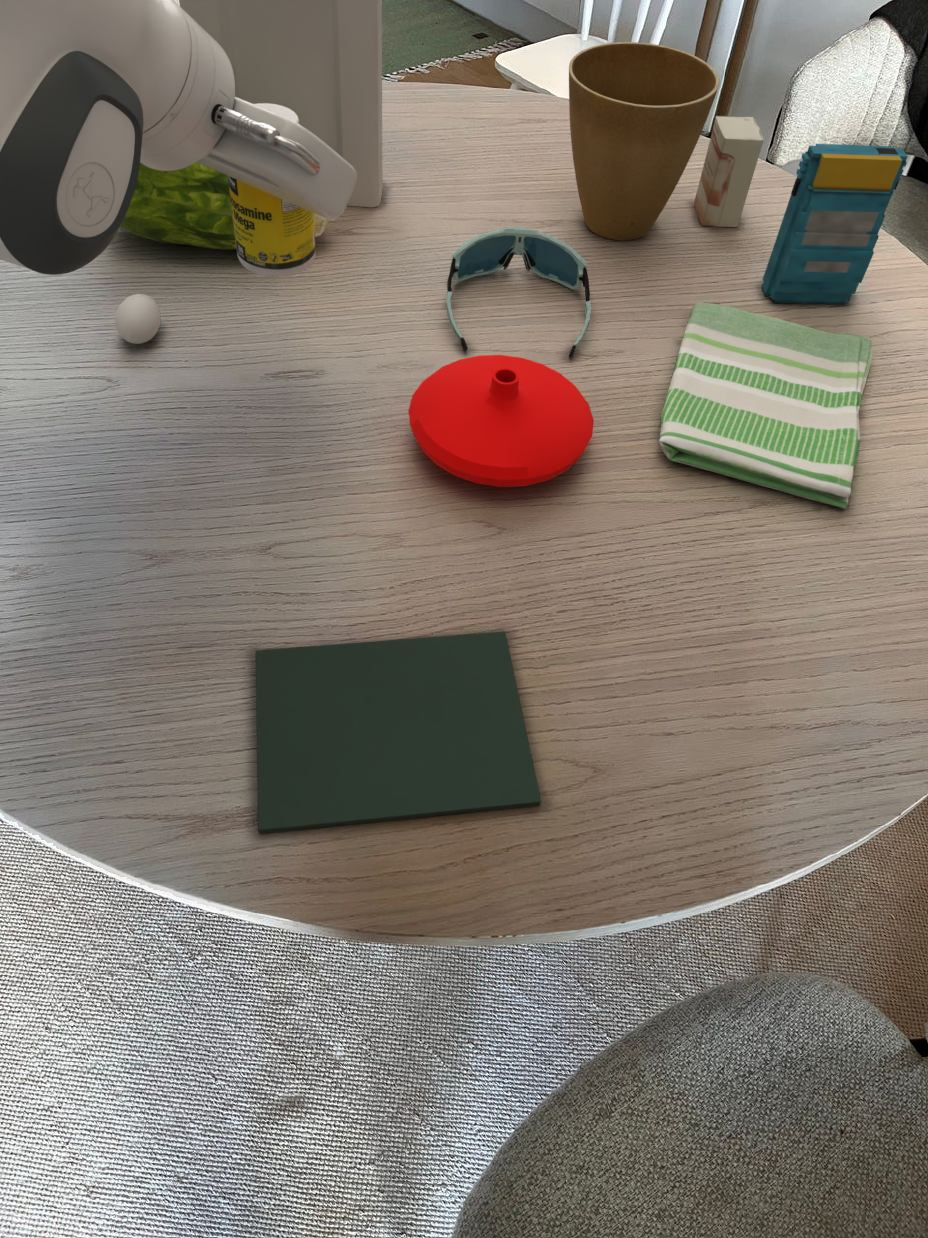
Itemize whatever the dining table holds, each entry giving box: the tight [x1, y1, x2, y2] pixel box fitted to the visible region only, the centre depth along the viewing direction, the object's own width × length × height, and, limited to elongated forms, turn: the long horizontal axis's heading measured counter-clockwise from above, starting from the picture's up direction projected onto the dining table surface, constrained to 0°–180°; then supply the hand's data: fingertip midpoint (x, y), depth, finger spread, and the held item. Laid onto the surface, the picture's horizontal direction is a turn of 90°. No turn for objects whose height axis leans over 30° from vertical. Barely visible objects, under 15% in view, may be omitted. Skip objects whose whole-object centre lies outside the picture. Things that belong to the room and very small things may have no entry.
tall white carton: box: [178, 0, 384, 208], centre depth 102 cm, size 19×15×28 cm
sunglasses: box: [445, 226, 592, 359], centre depth 96 cm, size 14×15×5 cm
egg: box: [115, 293, 162, 345], centre depth 90 cm, size 4×6×4 cm, turn 176°
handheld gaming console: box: [761, 143, 909, 305], centre depth 97 cm, size 10×4×15 cm, turn 93°
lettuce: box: [120, 162, 330, 251], centre depth 99 cm, size 14×23×13 cm, turn 83°
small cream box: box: [693, 115, 765, 228], centre depth 108 cm, size 5×4×10 cm
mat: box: [255, 630, 542, 834], centre depth 67 cm, size 18×14×1 cm
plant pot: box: [568, 41, 720, 241], centre depth 103 cm, size 15×15×16 cm
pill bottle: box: [228, 103, 317, 278], centre depth 74 cm, size 6×6×11 cm
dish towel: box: [658, 302, 874, 510], centre depth 90 cm, size 18×23×3 cm
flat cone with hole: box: [407, 354, 595, 488], centre depth 83 cm, size 16×16×7 cm
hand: (276, 181), depth 74 cm, fingers closed on pill bottle, 6 cm apart
